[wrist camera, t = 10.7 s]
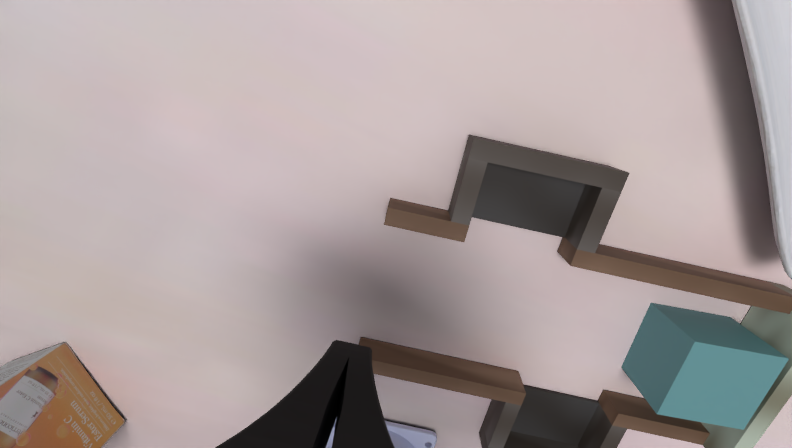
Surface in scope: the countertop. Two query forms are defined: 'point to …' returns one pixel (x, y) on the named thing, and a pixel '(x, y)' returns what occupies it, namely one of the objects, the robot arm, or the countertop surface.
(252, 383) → the countertop surface
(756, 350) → the teal block
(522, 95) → the countertop surface
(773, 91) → the salad plate
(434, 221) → the trap channel
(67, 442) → the small box
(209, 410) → the countertop surface
